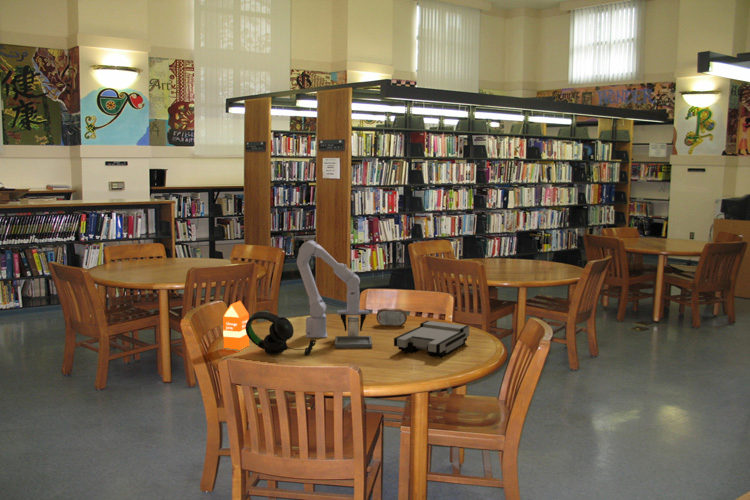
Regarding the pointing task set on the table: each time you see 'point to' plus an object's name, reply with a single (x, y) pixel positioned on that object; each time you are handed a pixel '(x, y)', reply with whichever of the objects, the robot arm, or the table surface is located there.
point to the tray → (353, 342)
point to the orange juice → (235, 327)
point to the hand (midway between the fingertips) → (353, 330)
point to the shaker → (353, 326)
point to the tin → (391, 317)
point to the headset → (274, 334)
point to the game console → (433, 338)
